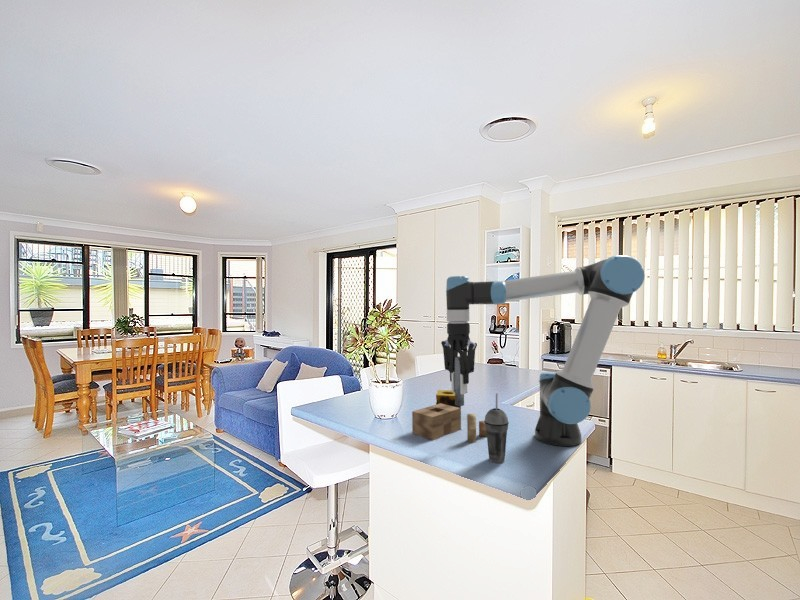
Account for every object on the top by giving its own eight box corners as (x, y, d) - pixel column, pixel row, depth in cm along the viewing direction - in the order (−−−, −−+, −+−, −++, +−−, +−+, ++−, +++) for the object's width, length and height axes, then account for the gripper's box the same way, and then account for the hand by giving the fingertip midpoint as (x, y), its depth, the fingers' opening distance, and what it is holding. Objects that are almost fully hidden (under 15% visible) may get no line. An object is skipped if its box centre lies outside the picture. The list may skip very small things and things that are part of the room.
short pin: (489, 435, 139) (489, 421, 139) (484, 438, 137) (484, 423, 137) (482, 433, 141) (482, 420, 141) (477, 435, 139) (477, 421, 139)
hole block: (460, 429, 146) (460, 408, 146) (432, 440, 135) (432, 417, 135) (440, 423, 154) (440, 403, 154) (412, 433, 143) (412, 411, 143)
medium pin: (477, 440, 134) (477, 414, 134) (472, 443, 132) (472, 416, 132) (470, 438, 136) (470, 413, 136) (465, 440, 134) (465, 414, 134)
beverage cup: (482, 462, 116) (482, 396, 116) (486, 453, 123) (485, 390, 123) (508, 466, 113) (507, 398, 113) (510, 457, 120) (509, 392, 120)
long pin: (466, 404, 129) (465, 356, 130) (460, 406, 127) (459, 357, 127) (458, 403, 132) (457, 356, 132) (453, 404, 130) (452, 357, 130)
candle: (460, 420, 157) (460, 396, 157) (435, 419, 159) (435, 395, 159) (461, 413, 167) (461, 390, 167) (438, 412, 169) (437, 389, 169)
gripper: (484, 322, 127) (486, 394, 126) (446, 321, 138) (447, 387, 138) (471, 323, 121) (472, 398, 121) (432, 322, 133) (433, 390, 133)
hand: (459, 392), depth 130 cm, fingers closed on long pin, 3 cm apart
